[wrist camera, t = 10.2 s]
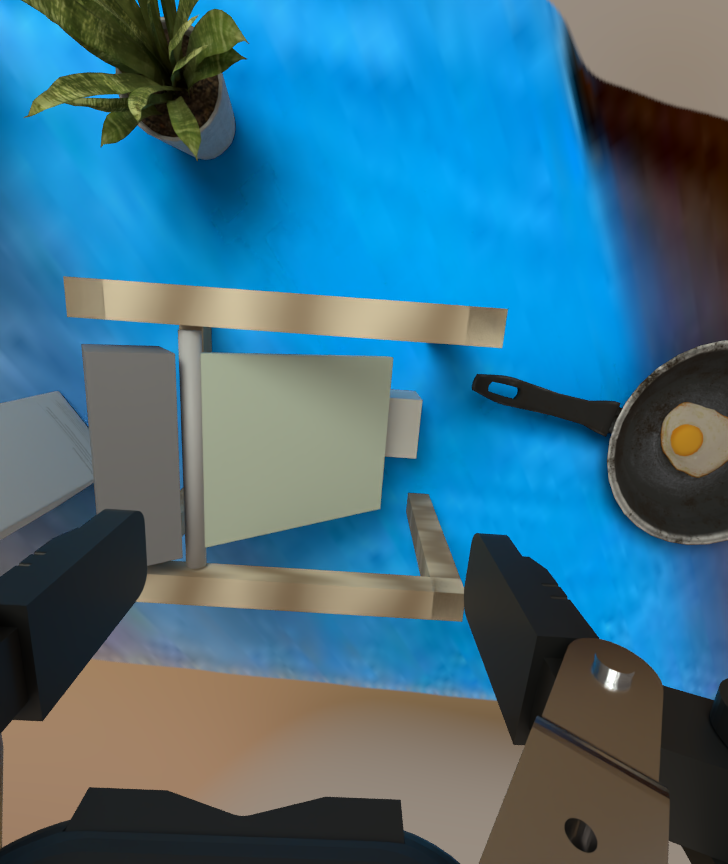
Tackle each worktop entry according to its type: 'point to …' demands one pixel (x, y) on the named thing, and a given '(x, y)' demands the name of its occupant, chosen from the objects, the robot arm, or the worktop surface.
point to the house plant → (150, 70)
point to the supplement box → (40, 458)
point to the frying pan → (657, 442)
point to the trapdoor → (234, 440)
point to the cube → (403, 424)
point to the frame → (319, 315)
